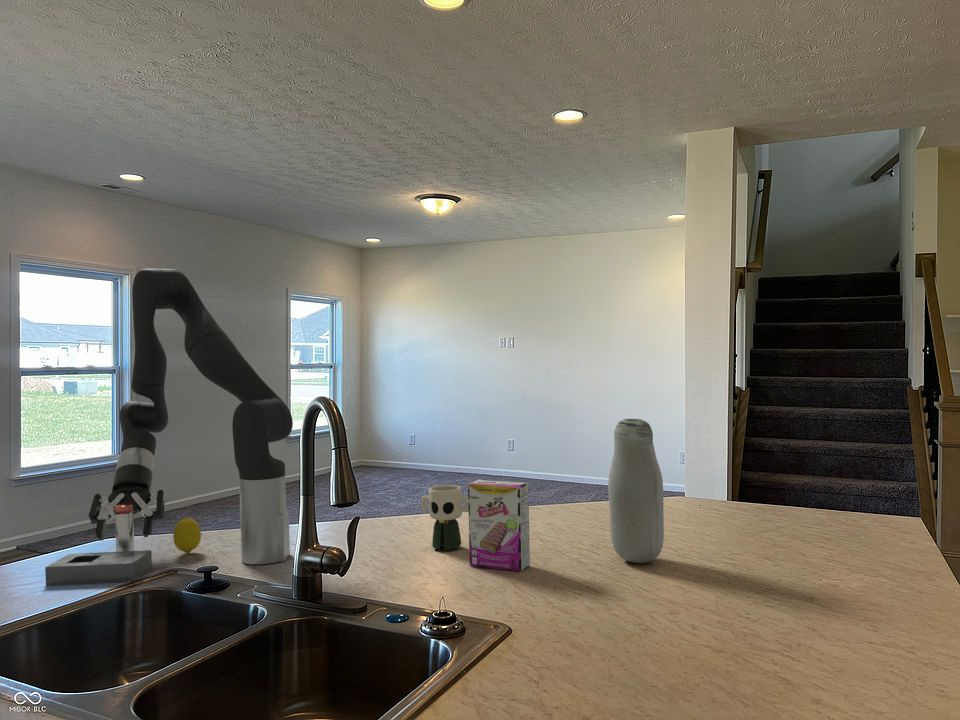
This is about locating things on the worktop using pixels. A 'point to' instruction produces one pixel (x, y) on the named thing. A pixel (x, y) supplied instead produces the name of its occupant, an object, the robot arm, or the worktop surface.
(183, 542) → the lemon
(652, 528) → the grey bottle
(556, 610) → the worktop surface
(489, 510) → the candy bar box
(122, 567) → the grey block with hole
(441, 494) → the character mug
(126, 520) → the pin
